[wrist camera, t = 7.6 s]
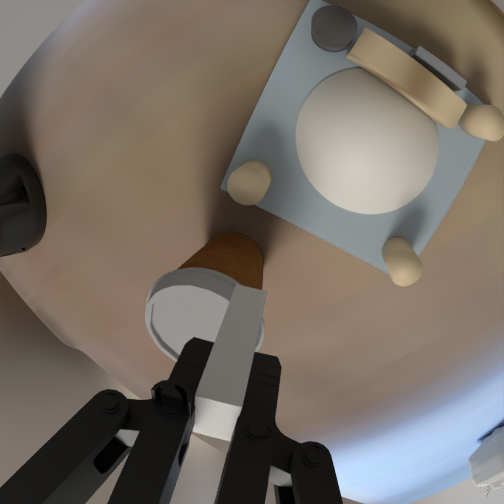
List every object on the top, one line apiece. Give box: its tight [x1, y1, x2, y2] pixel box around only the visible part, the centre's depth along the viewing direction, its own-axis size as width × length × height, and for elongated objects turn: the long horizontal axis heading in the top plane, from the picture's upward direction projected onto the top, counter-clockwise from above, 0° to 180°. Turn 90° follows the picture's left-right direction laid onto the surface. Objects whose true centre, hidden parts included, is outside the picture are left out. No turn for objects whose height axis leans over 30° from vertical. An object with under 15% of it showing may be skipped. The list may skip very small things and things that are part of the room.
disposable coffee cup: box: [145, 232, 264, 362], centre depth 26 cm, size 10×10×12 cm
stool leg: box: [311, 5, 467, 129], centre depth 18 cm, size 14×3×3 cm, turn 62°
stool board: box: [220, 0, 504, 286], centre depth 21 cm, size 20×20×6 cm
